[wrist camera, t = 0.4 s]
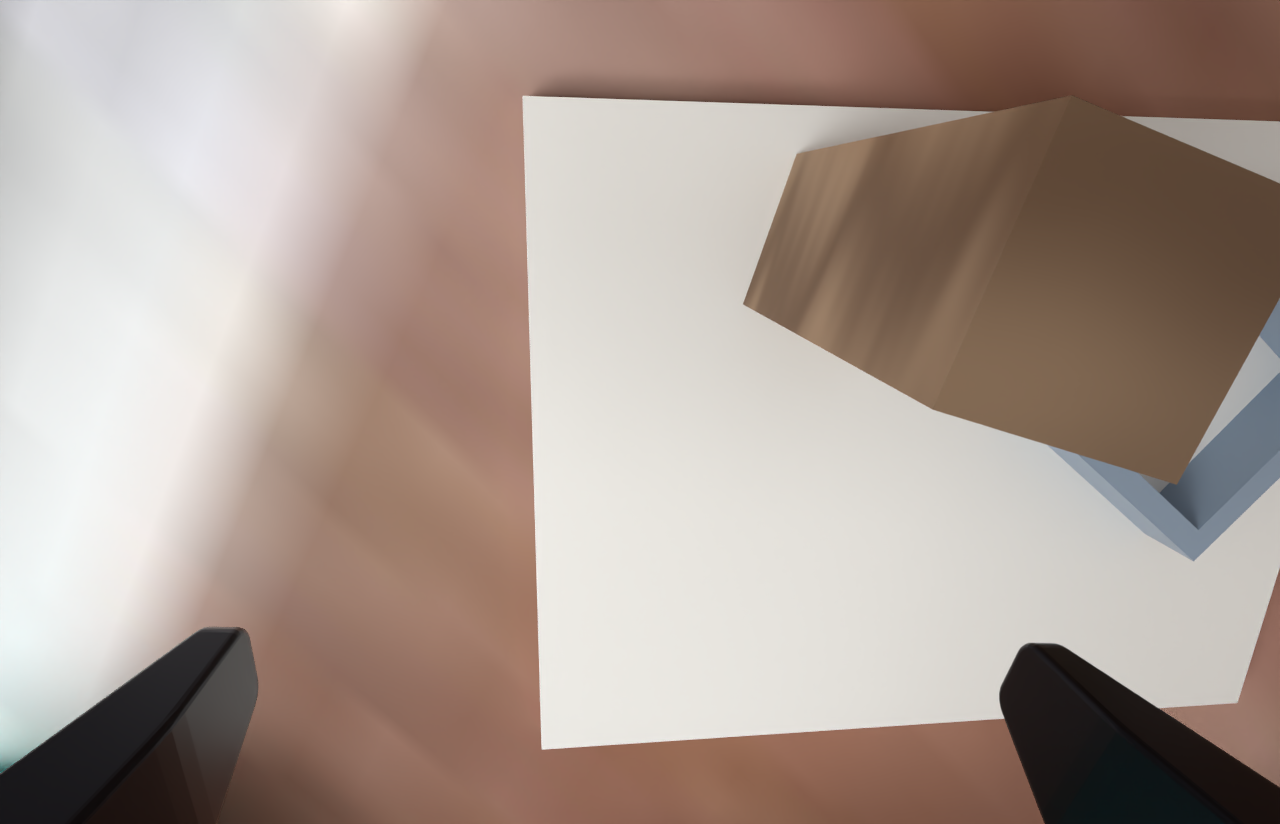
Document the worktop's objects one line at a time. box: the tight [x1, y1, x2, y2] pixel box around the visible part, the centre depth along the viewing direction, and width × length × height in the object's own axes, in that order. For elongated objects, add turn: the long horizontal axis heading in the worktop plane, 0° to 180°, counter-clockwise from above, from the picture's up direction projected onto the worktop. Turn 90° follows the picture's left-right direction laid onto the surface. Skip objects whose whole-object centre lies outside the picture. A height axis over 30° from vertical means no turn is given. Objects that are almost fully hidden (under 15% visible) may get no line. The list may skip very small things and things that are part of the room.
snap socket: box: [1048, 299, 1280, 561], centre depth 22 cm, size 8×8×2 cm
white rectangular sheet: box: [523, 96, 1280, 749], centre depth 23 cm, size 21×27×1 cm
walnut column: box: [743, 95, 1280, 485], centre depth 15 cm, size 4×4×11 cm
